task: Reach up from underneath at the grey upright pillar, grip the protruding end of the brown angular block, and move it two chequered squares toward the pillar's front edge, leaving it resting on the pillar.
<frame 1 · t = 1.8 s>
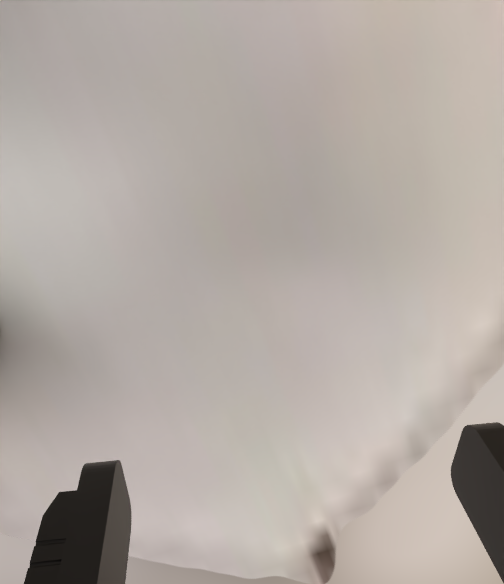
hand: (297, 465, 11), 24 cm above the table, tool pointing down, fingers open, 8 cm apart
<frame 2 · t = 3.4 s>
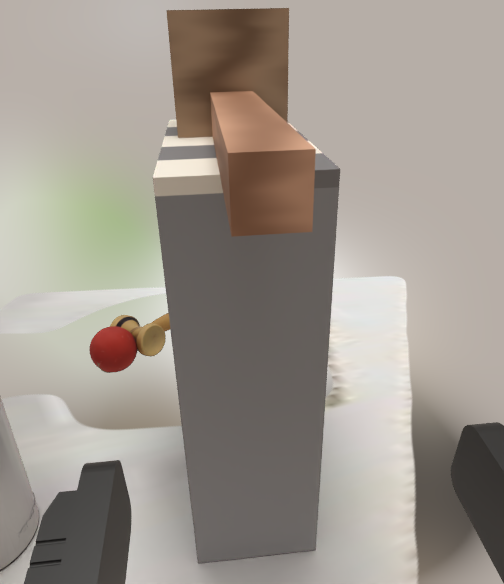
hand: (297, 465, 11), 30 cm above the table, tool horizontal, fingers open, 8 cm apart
kendama: (149, 347, 70), on the table
brown angular block: (246, 168, 27), point 32 cm above the table, touching grey upright pillar
grey upright pillar: (246, 464, 50), on the table
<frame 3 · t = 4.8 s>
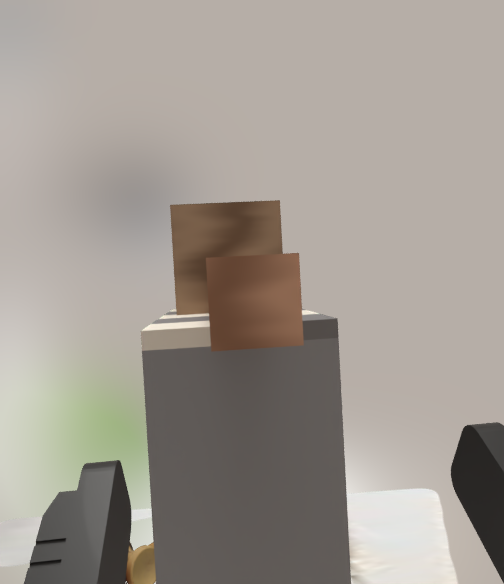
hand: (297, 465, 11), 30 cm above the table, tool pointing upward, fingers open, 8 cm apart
kendama: (142, 579, 58), on the table
brown angular block: (239, 323, 26), point 32 cm above the table, touching grey upright pillar
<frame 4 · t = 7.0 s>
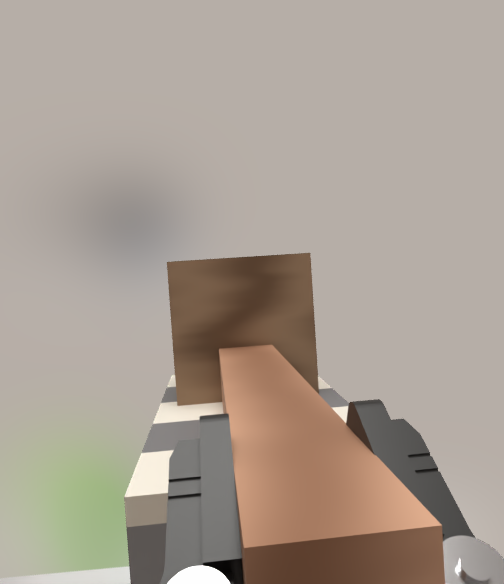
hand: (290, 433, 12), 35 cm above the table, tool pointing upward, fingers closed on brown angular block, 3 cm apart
brown angular block: (271, 469, 17), point 33 cm above the table, touching gripper, grey upright pillar
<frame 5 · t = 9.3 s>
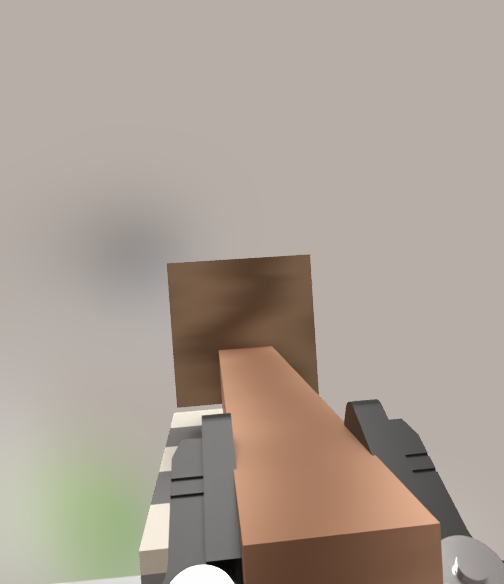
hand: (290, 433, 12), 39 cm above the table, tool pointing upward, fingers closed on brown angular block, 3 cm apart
brown angular block: (271, 470, 17), point 36 cm above the table, touching gripper
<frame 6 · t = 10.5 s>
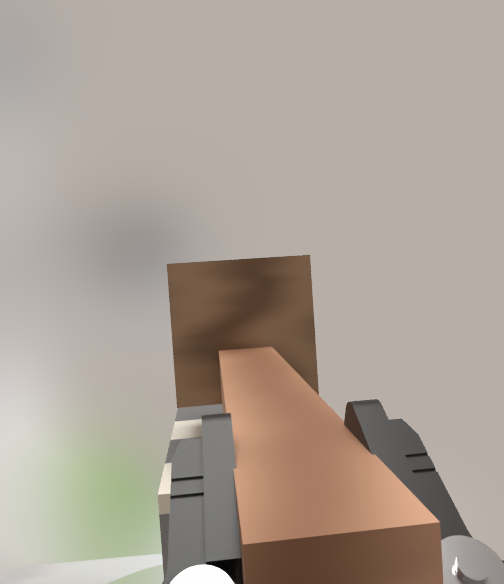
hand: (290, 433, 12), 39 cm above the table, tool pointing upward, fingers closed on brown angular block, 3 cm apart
brown angular block: (271, 470, 17), point 36 cm above the table, touching gripper
when the fingers open (36 cm above the table, at t = 11.3 s): brown angular block stays where it is, resting on grey upright pillar.
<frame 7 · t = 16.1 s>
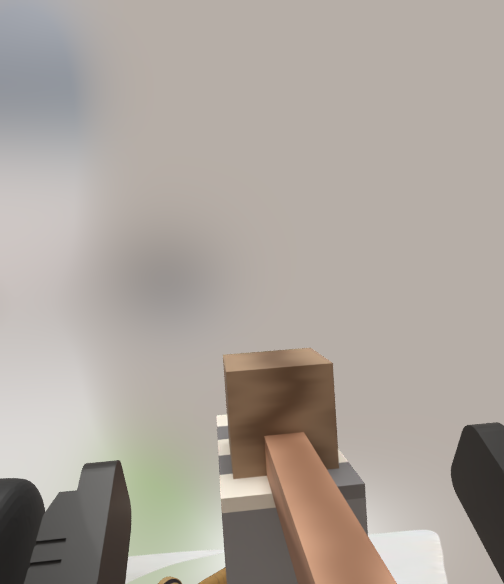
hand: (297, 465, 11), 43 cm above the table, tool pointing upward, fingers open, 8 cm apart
brown angular block: (316, 547, 26), point 32 cm above the table, touching grey upright pillar
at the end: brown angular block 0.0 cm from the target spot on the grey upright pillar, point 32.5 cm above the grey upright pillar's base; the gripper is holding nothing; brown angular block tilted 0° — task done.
